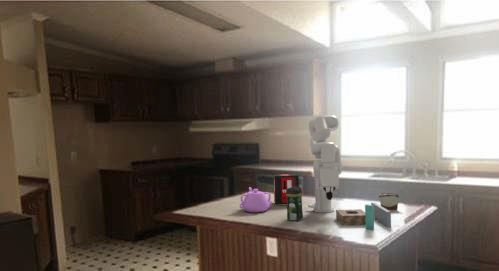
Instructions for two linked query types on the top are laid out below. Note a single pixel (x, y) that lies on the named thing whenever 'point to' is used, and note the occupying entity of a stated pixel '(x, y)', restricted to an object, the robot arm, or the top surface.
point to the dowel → (369, 216)
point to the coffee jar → (294, 203)
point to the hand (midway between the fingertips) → (329, 199)
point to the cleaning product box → (284, 186)
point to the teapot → (255, 201)
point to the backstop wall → (382, 214)
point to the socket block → (351, 217)
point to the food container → (389, 200)
